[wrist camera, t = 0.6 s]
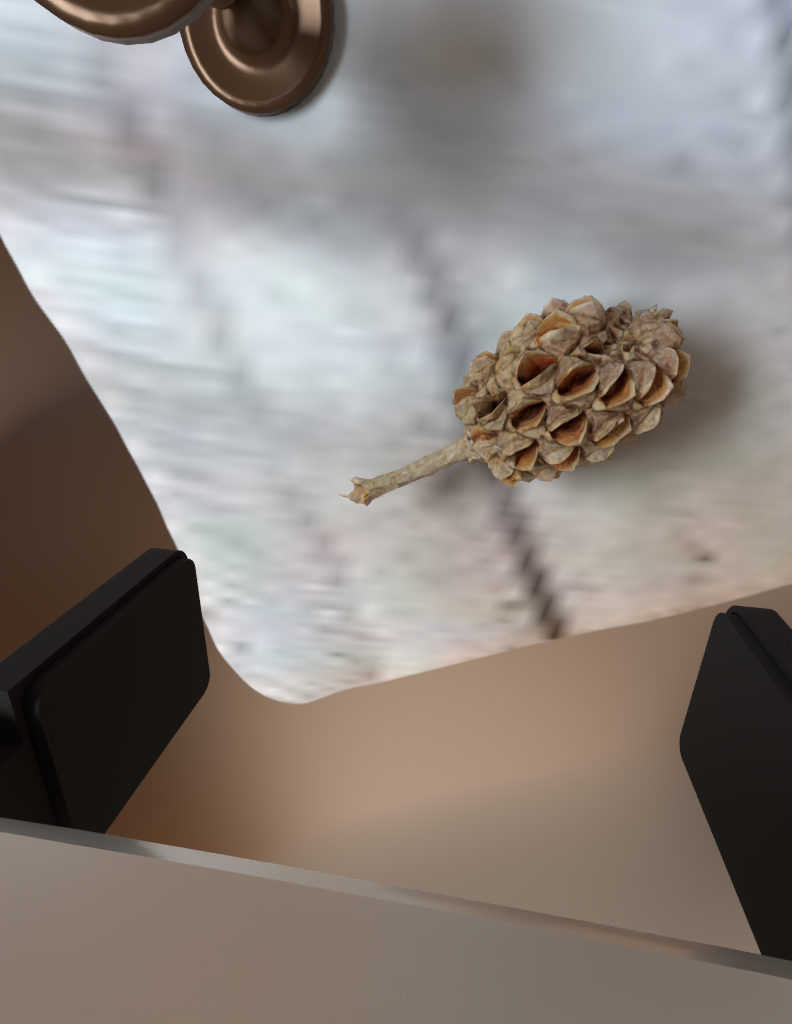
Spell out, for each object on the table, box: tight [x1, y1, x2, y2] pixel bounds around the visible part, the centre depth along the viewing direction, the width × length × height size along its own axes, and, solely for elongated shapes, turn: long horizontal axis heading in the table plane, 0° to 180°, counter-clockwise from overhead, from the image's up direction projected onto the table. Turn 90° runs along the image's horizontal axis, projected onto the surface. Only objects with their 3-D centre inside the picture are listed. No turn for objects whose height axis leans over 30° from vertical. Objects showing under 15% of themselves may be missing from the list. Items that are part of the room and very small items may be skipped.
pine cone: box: [340, 295, 691, 506], centre depth 33 cm, size 22×10×10 cm, turn 125°
